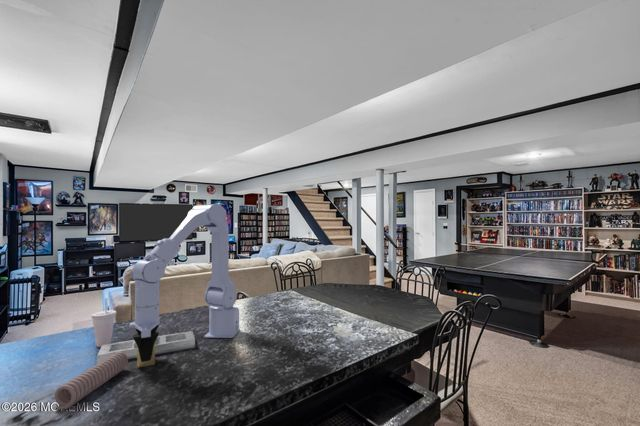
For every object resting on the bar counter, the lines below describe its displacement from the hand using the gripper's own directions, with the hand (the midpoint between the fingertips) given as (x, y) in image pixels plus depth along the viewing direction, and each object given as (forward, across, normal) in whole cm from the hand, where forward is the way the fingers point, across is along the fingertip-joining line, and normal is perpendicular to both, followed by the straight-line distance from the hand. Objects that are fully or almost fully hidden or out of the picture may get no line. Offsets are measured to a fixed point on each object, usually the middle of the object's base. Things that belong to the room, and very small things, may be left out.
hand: (146, 356), depth 82 cm
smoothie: (+2, -21, -12) cm, 24 cm away
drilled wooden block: (+2, 0, 0) cm, 2 cm away
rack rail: (+2, -9, 0) cm, 9 cm away
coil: (+2, +8, -10) cm, 13 cm away
